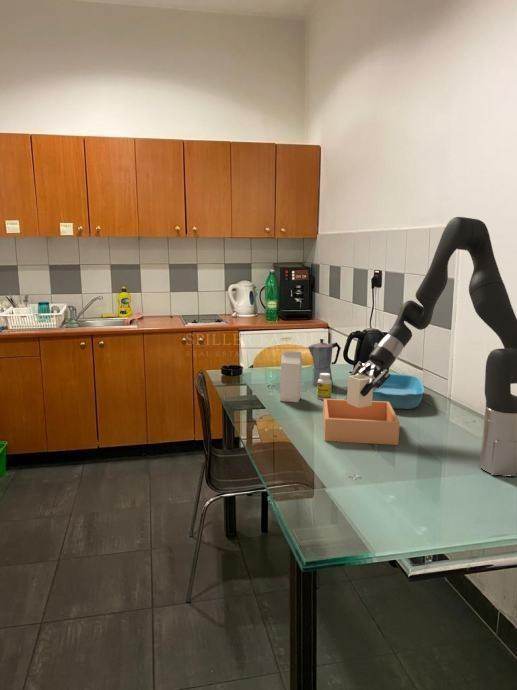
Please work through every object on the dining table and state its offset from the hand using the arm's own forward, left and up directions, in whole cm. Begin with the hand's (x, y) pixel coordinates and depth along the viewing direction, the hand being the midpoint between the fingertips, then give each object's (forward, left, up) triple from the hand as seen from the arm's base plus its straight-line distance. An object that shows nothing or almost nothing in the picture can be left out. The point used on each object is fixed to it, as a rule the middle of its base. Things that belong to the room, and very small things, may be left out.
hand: (355, 392), depth 169 cm
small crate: (+1, -1, -4) cm, 5 cm away
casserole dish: (+41, -18, -14) cm, 47 cm away
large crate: (+1, -1, -13) cm, 13 cm away
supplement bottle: (+37, +9, -13) cm, 40 cm away
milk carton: (+33, +22, -13) cm, 42 cm away
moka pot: (+58, +9, -13) cm, 60 cm away
